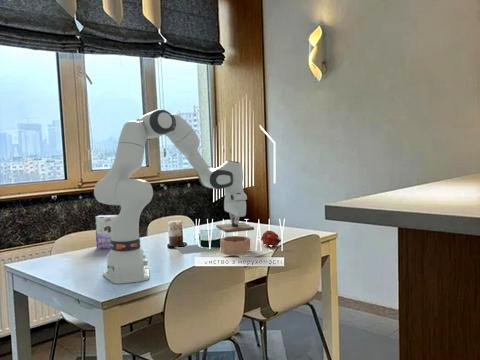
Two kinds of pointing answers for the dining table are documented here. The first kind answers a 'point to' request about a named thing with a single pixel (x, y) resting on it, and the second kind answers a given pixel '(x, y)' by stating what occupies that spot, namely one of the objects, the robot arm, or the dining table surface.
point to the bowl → (235, 244)
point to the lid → (234, 227)
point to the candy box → (103, 231)
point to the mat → (192, 249)
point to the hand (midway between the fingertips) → (234, 223)
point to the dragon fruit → (270, 238)
